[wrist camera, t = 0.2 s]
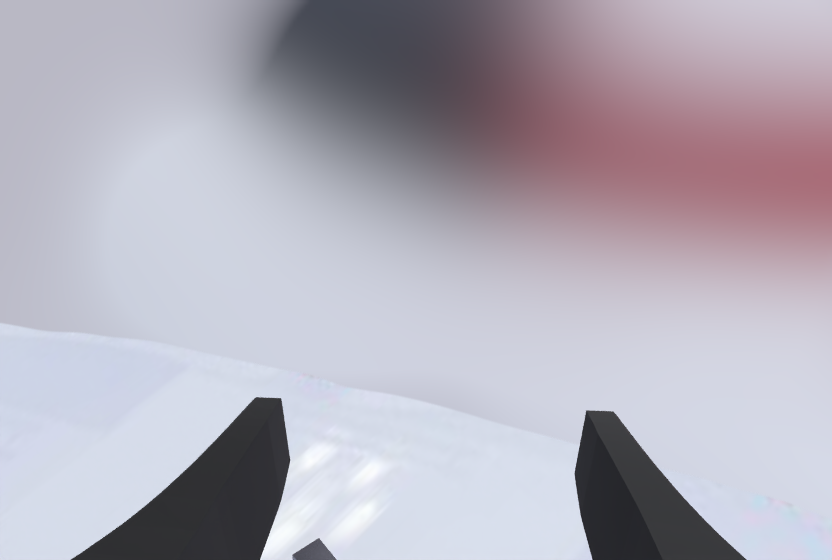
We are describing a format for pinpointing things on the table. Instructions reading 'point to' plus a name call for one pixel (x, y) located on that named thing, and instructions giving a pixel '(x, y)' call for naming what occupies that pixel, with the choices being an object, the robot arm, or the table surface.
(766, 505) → the table surface
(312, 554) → the tabbed brass dial
